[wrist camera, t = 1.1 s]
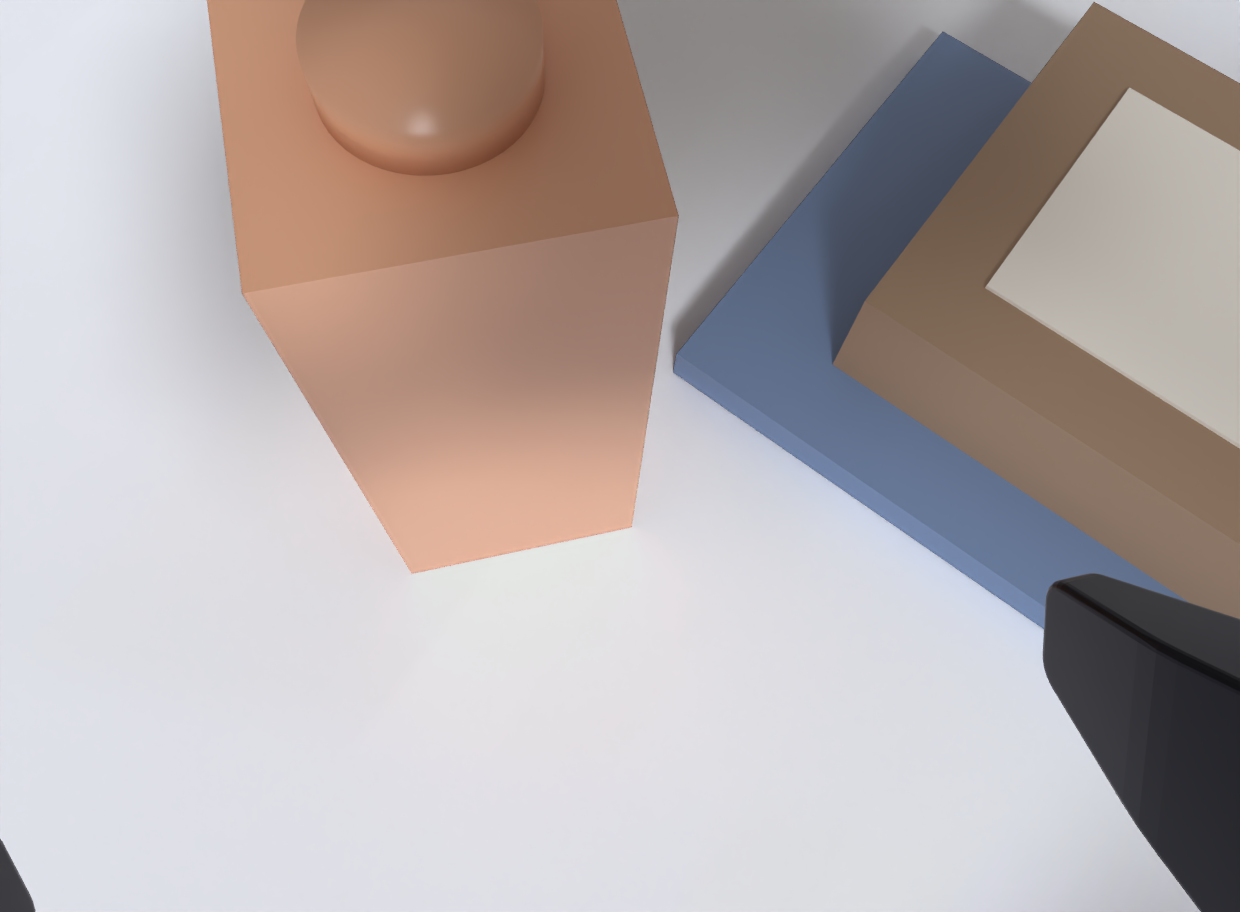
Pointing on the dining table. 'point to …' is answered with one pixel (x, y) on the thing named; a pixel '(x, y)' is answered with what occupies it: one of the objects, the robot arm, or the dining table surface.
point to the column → (455, 253)
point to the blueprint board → (824, 308)
